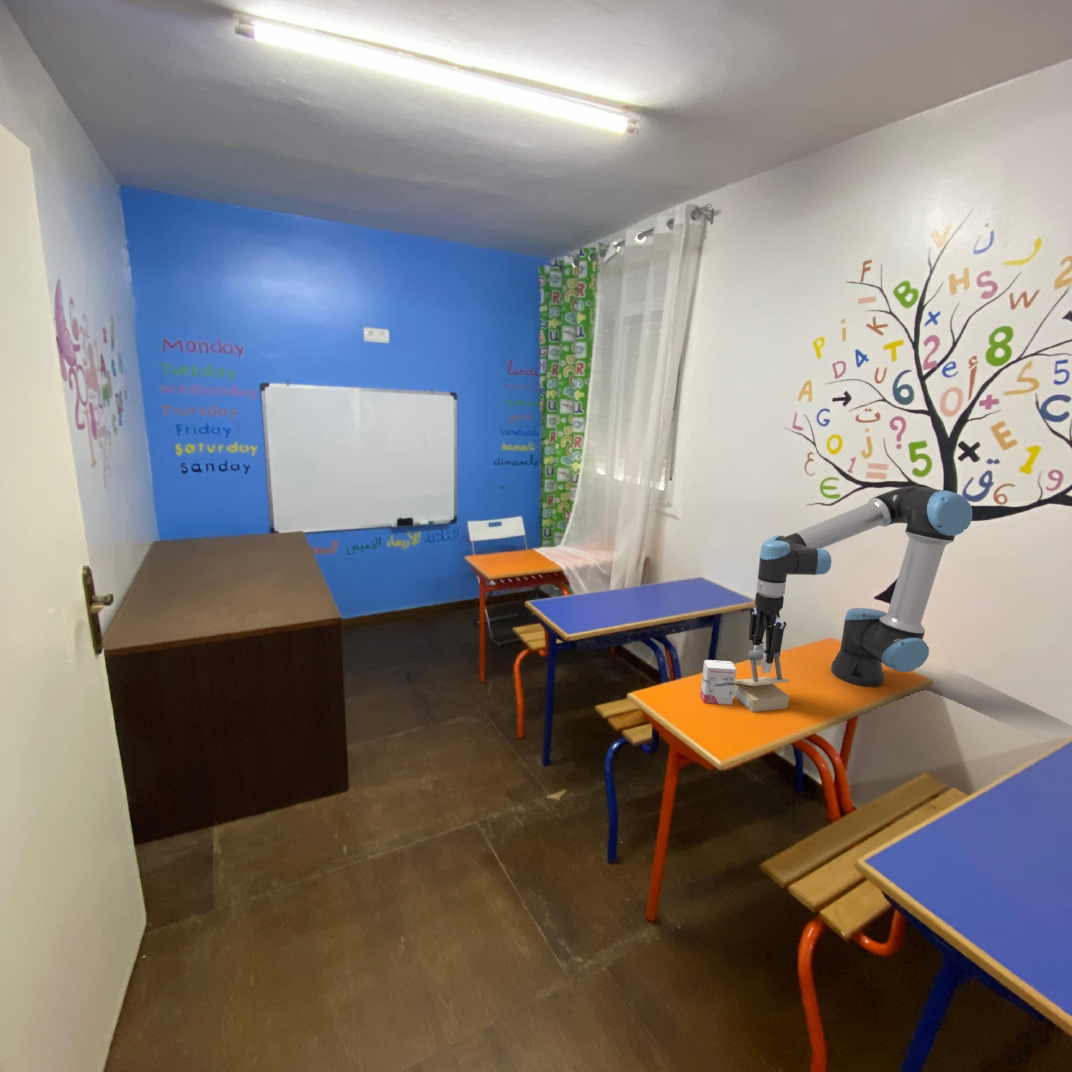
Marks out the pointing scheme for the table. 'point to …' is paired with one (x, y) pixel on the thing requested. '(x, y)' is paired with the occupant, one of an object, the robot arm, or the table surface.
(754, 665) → the flap
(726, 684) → the ink box
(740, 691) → the carton
